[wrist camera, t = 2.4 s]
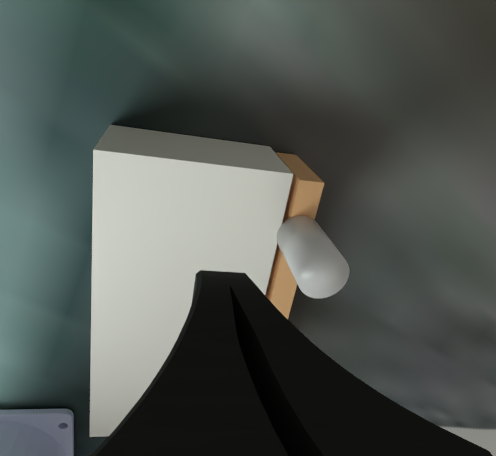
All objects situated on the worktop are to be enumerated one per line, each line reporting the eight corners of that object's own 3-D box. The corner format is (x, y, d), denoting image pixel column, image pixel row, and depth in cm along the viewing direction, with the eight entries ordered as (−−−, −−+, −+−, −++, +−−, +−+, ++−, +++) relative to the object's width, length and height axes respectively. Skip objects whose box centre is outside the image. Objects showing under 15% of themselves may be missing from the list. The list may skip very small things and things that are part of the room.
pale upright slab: (222, 385, 24) (230, 444, 21) (102, 385, 23) (89, 450, 19) (269, 146, 18) (293, 174, 15) (110, 124, 17) (93, 149, 13)
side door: (252, 371, 24) (279, 486, 18) (223, 371, 24) (241, 489, 18) (303, 156, 19) (368, 216, 12) (267, 151, 18) (315, 210, 12)
